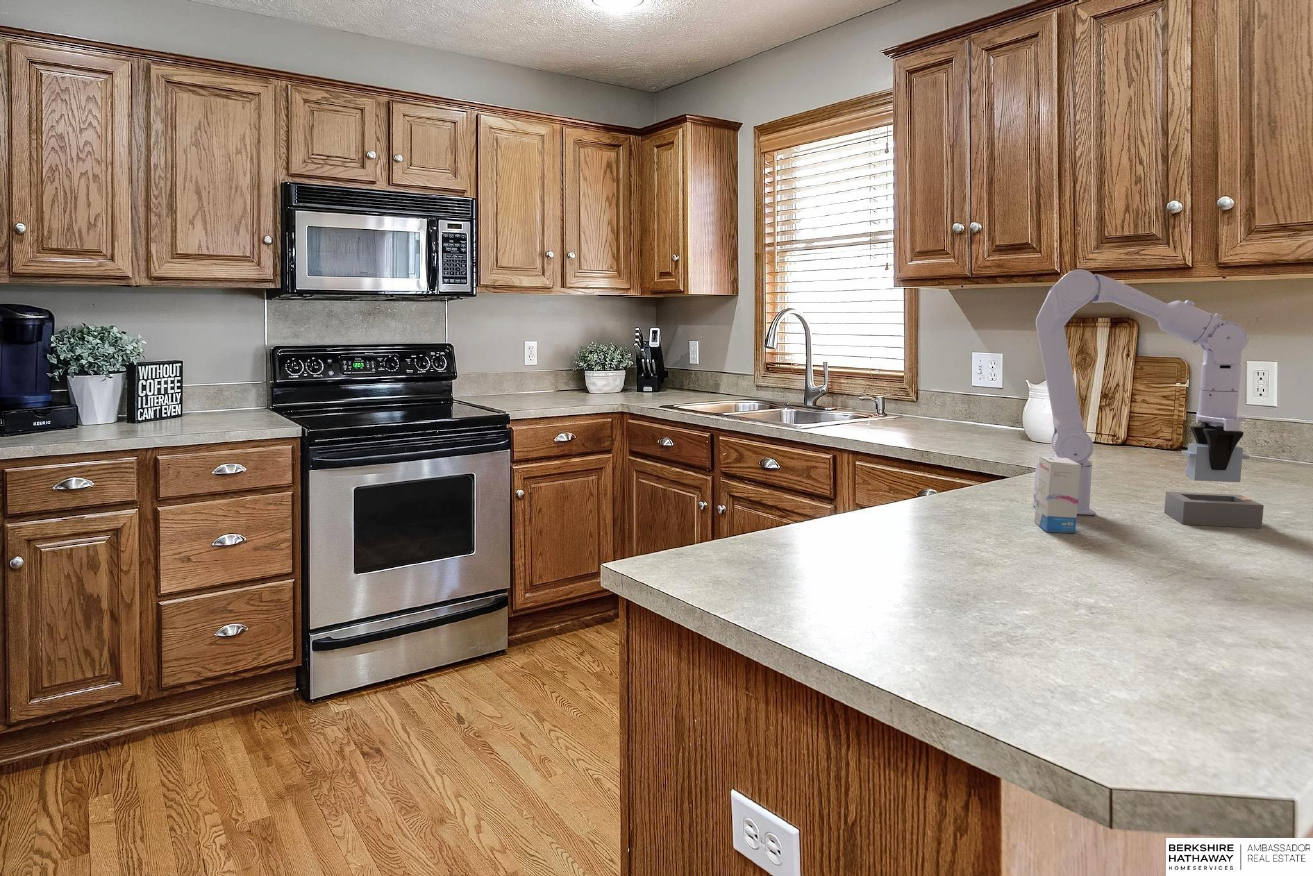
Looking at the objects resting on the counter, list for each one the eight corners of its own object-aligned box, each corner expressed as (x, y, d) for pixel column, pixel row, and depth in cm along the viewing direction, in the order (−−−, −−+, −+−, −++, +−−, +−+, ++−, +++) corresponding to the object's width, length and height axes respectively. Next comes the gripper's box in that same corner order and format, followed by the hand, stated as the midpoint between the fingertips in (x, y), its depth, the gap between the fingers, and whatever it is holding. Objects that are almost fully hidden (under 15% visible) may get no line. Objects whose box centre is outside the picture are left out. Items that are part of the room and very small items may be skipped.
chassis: (1182, 524, 147) (1184, 500, 147) (1164, 512, 157) (1165, 490, 156) (1261, 528, 144) (1263, 504, 144) (1238, 516, 154) (1240, 493, 153)
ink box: (1077, 534, 140) (1082, 463, 138) (1045, 532, 141) (1049, 462, 139) (1063, 523, 148) (1068, 456, 147) (1033, 521, 149) (1037, 455, 148)
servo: (1187, 480, 148) (1190, 442, 148) (1179, 476, 153) (1182, 439, 152) (1246, 482, 146) (1250, 444, 145) (1236, 478, 150) (1239, 441, 150)
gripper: (1263, 393, 140) (1256, 475, 141) (1229, 388, 153) (1223, 462, 155) (1214, 392, 141) (1208, 473, 143) (1185, 387, 155) (1180, 461, 157)
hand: (1213, 467), depth 149 cm, fingers closed on servo, 4 cm apart
